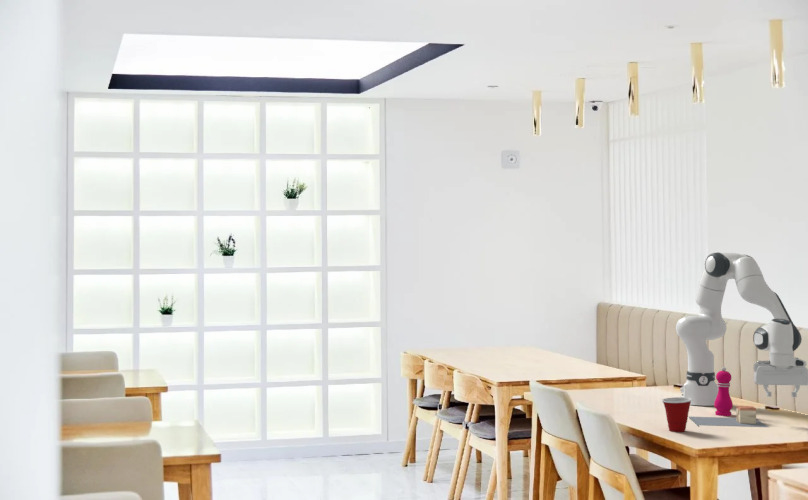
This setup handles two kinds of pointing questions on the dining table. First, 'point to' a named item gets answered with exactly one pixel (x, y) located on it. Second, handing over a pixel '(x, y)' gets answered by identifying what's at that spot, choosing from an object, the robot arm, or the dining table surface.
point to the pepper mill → (723, 394)
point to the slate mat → (723, 422)
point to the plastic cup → (677, 412)
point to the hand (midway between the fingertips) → (781, 396)
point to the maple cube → (746, 414)
